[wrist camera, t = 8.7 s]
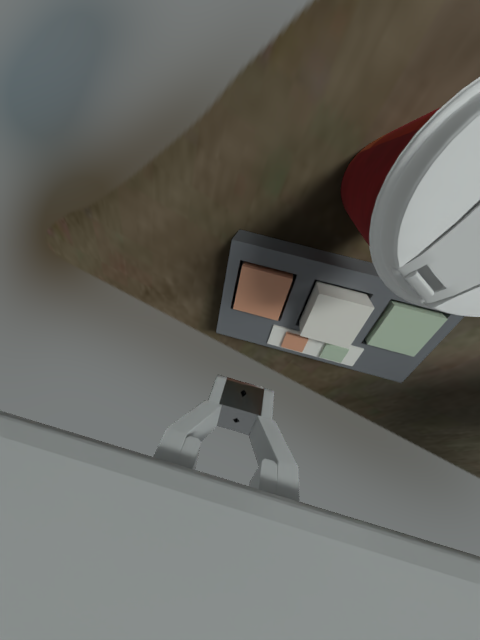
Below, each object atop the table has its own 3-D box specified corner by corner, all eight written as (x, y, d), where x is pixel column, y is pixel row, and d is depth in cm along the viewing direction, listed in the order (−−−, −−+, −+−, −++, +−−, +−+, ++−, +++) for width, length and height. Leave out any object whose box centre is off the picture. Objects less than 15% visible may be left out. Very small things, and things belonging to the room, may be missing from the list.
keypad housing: (452, 283, 21) (482, 305, 18) (389, 359, 27) (403, 386, 23) (239, 229, 22) (230, 241, 18) (223, 315, 27) (214, 335, 24)
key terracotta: (292, 268, 21) (292, 279, 19) (278, 307, 24) (277, 320, 22) (246, 256, 21) (242, 266, 19) (237, 296, 24) (232, 308, 22)
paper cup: (363, 252, 21) (452, 360, 9) (306, 188, 19) (329, 226, 7) (463, 174, 17) (832, 199, 5) (402, 82, 15) (779, -190, 3)
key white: (366, 293, 20) (374, 307, 18) (343, 332, 22) (348, 348, 20) (316, 280, 20) (319, 293, 18) (299, 320, 23) (300, 335, 21)
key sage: (433, 304, 21) (447, 319, 19) (403, 340, 23) (413, 356, 21) (384, 292, 21) (394, 305, 19) (360, 329, 23) (367, 344, 22)
